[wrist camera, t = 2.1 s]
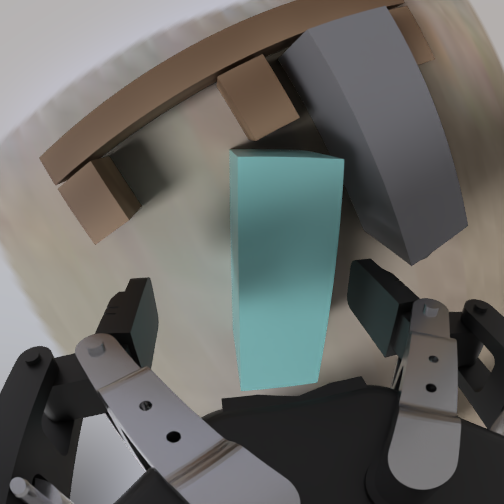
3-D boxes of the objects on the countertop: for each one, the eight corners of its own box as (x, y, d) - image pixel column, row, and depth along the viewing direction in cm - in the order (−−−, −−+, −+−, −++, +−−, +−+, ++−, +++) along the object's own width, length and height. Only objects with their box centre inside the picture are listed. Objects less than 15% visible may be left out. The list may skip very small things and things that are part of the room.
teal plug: (291, 343, 19) (313, 402, 14) (233, 348, 18) (241, 410, 14) (303, 149, 15) (344, 159, 10) (229, 149, 14) (237, 156, 10)
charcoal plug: (417, 221, 17) (472, 251, 12) (371, 250, 17) (418, 291, 12) (337, 35, 12) (385, 5, 8) (277, 60, 13) (307, 29, 8)
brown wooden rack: (407, 65, 13) (434, 59, 11) (111, 227, 15) (95, 245, 12) (367, -7, 11) (389, -23, 9) (63, 152, 13) (39, 157, 10)
